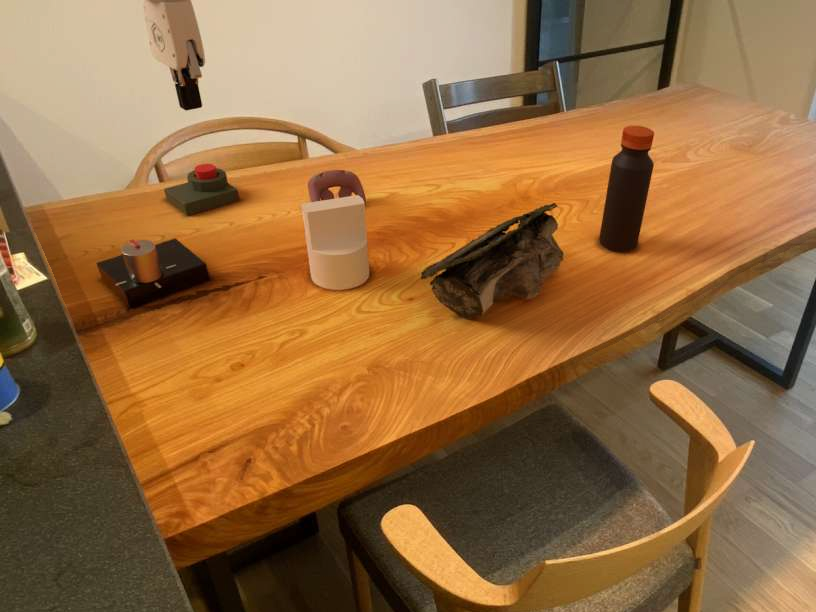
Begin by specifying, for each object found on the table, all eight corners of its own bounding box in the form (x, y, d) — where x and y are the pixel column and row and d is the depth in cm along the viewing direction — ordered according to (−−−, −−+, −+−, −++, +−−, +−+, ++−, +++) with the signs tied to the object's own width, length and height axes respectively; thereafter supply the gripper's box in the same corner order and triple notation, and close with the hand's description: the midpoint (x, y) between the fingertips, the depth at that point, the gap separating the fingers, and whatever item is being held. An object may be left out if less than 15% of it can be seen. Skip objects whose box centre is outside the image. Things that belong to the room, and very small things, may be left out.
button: (202, 182, 123) (200, 173, 122) (192, 176, 125) (190, 166, 124) (221, 177, 125) (219, 168, 124) (211, 171, 127) (209, 162, 126)
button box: (187, 215, 121) (181, 194, 118) (165, 199, 125) (160, 178, 123) (241, 200, 127) (237, 179, 124) (219, 185, 131) (214, 164, 128)
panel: (135, 316, 97) (128, 297, 95) (100, 280, 103) (93, 262, 101) (217, 286, 104) (213, 268, 102) (179, 254, 110) (175, 237, 108)
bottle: (590, 242, 121) (608, 129, 109) (613, 230, 125) (633, 120, 113) (622, 257, 118) (644, 142, 105) (644, 244, 122) (668, 132, 109)
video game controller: (362, 205, 131) (355, 167, 129) (368, 204, 127) (361, 165, 125) (310, 213, 127) (302, 174, 125) (315, 212, 123) (306, 172, 121)
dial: (168, 276, 100) (160, 246, 97) (138, 286, 97) (128, 256, 94) (154, 264, 102) (146, 235, 99) (124, 274, 100) (115, 244, 97)
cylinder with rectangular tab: (320, 294, 104) (311, 222, 96) (304, 266, 110) (294, 195, 102) (377, 282, 107) (372, 211, 100) (358, 255, 113) (353, 186, 106)
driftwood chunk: (438, 358, 101) (495, 327, 89) (391, 283, 100) (442, 242, 88) (552, 281, 118) (612, 246, 106) (512, 216, 116) (569, 174, 104)
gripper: (119, -21, 108) (150, 100, 119) (162, -3, 100) (190, 125, 111) (166, -25, 112) (192, 92, 123) (211, -8, 104) (234, 115, 116)
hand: (191, 107), depth 117 cm, fingers closed
